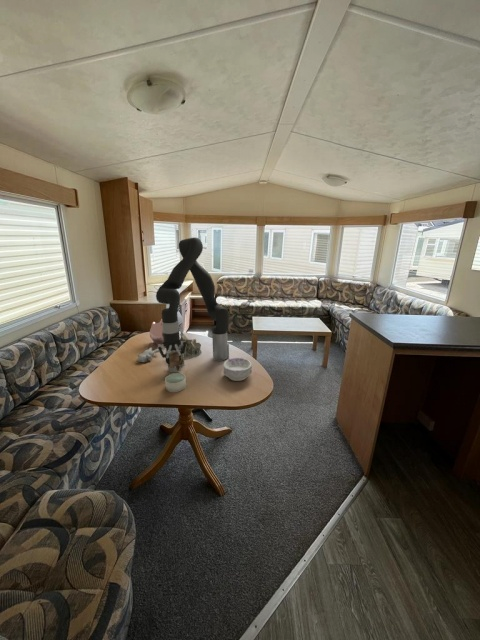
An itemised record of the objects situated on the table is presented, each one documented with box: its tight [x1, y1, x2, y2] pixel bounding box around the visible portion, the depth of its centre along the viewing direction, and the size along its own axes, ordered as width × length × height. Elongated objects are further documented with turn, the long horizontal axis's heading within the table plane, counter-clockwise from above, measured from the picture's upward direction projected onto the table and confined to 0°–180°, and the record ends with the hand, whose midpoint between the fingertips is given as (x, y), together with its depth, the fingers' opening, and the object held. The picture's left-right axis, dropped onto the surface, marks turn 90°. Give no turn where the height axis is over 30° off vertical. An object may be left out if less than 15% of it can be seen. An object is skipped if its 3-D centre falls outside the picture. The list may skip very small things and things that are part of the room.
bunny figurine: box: [137, 347, 160, 363], centre depth 163 cm, size 10×5×15 cm
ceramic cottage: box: [179, 331, 202, 361], centre depth 167 cm, size 16×16×15 cm
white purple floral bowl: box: [223, 357, 253, 382], centre depth 140 cm, size 15×15×8 cm
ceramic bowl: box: [164, 372, 187, 393], centre depth 131 cm, size 10×10×5 cm
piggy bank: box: [149, 319, 164, 346], centre depth 185 cm, size 15×18×16 cm
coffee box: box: [167, 340, 186, 373], centre depth 148 cm, size 9×6×16 cm
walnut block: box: [169, 351, 180, 367], centre depth 128 cm, size 4×4×6 cm
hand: (173, 362), depth 128 cm, fingers closed on walnut block, 4 cm apart
